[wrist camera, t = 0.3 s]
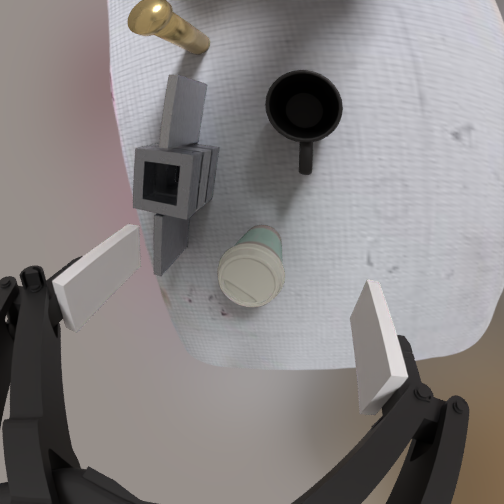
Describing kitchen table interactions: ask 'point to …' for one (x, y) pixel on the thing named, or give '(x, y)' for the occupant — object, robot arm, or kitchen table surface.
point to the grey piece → (182, 130)
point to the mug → (304, 110)
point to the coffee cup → (253, 268)
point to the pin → (166, 26)
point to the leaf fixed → (167, 207)
